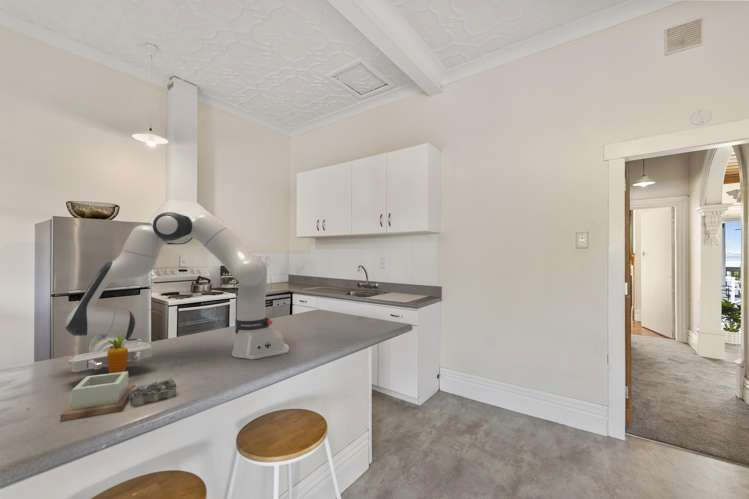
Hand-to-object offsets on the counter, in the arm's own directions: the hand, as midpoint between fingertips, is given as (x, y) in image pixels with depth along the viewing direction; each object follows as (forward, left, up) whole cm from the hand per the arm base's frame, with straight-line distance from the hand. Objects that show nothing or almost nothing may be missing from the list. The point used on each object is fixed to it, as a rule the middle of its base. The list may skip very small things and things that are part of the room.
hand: (118, 362), depth 98 cm
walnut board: (0, +14, -7) cm, 15 cm away
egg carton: (-12, +14, -7) cm, 20 cm away
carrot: (0, 0, -7) cm, 7 cm away
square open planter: (0, +14, -5) cm, 15 cm away
